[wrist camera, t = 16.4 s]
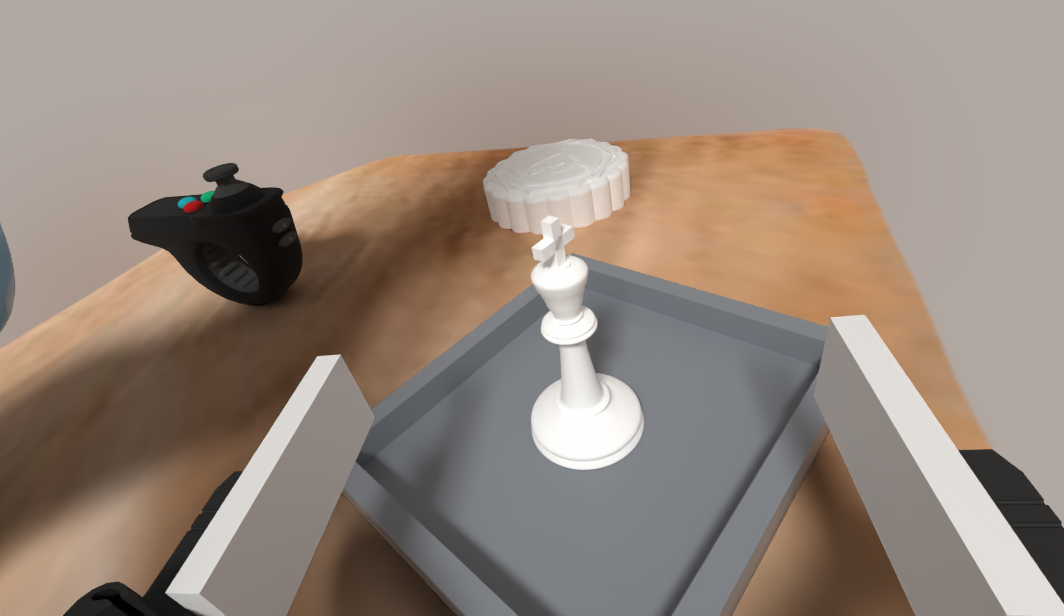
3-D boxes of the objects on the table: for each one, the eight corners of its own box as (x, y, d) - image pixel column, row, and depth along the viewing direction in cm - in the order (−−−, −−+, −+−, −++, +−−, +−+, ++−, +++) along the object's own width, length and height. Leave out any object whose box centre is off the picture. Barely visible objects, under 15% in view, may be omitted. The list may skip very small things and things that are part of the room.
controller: (304, 316, 35) (227, 180, 29) (177, 311, 39) (86, 191, 33) (339, 280, 38) (275, 152, 32) (218, 279, 42) (142, 165, 36)
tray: (331, 482, 23) (311, 455, 22) (576, 280, 32) (572, 253, 31) (632, 802, 13) (626, 783, 12) (860, 373, 22) (869, 338, 21)
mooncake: (476, 198, 46) (466, 160, 44) (595, 161, 48) (590, 123, 46) (512, 254, 37) (502, 209, 35) (659, 205, 39) (657, 160, 37)
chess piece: (509, 437, 22) (444, 241, 16) (574, 368, 25) (539, 179, 19) (602, 491, 19) (564, 276, 13) (665, 407, 22) (656, 197, 16)
